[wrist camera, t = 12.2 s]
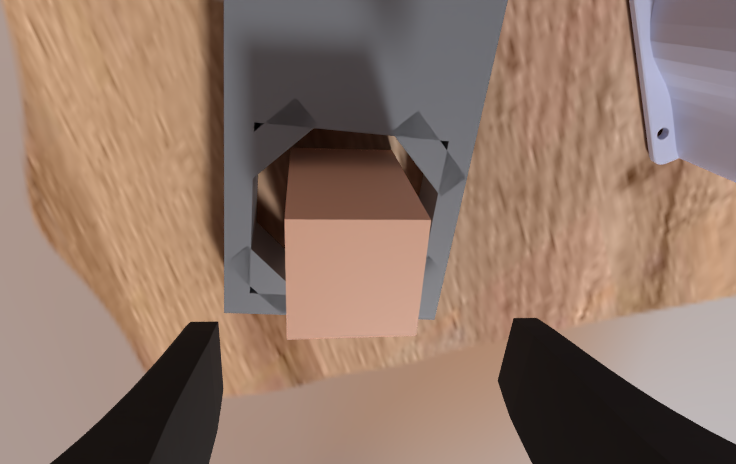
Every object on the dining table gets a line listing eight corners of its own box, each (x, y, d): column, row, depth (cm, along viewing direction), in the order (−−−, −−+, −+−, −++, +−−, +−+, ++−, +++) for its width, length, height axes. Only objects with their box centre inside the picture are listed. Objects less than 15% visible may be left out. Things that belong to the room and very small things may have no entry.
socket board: (235, -153, 15) (223, -178, 13) (503, -102, 16) (534, -117, 14) (232, 280, 22) (224, 312, 20) (421, 288, 23) (434, 319, 21)
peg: (391, 150, 20) (431, 219, 14) (384, 238, 22) (416, 335, 16) (290, 147, 19) (284, 219, 13) (291, 239, 21) (286, 339, 15)
